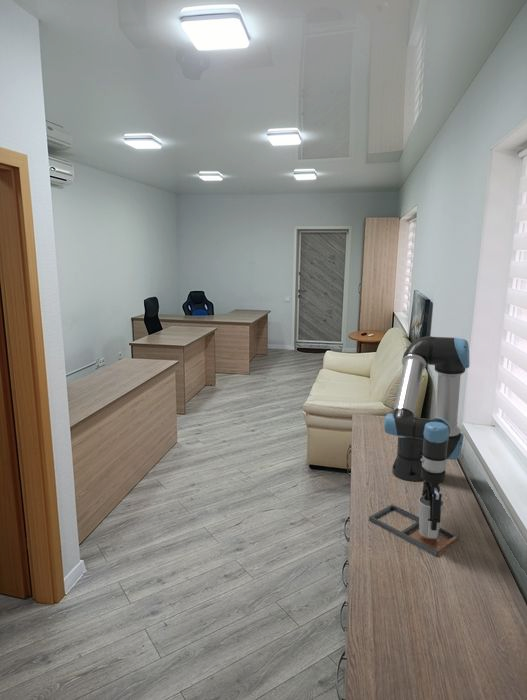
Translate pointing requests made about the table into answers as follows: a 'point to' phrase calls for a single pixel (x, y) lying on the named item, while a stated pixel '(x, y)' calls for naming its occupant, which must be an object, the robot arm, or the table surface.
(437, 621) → the table surface
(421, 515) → the cup
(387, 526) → the two-slot metal tray
